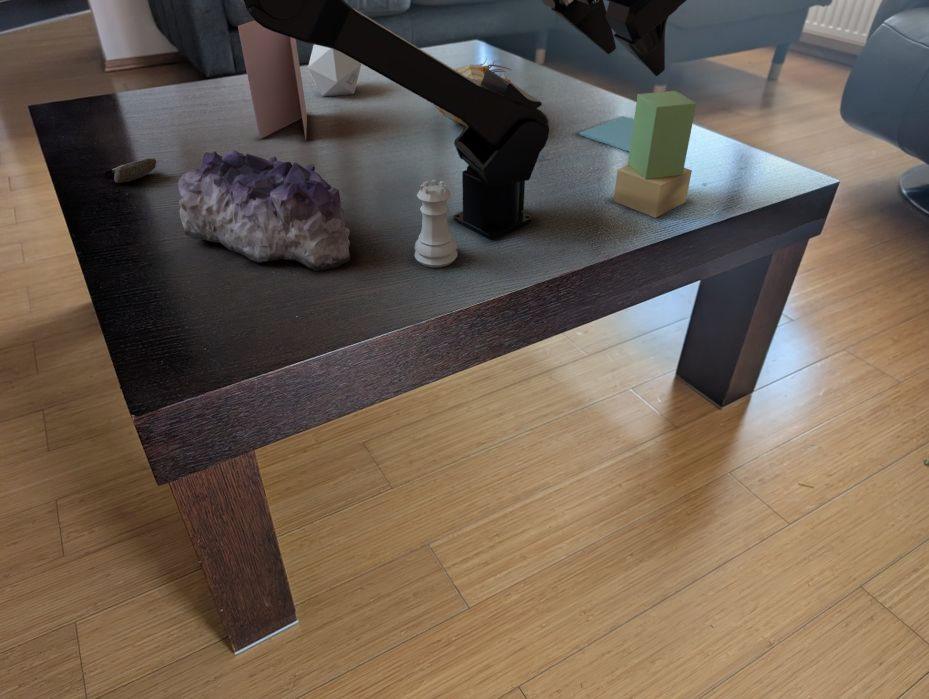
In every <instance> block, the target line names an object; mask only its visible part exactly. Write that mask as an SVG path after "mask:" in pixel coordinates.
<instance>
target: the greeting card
mask: <svg viewBox="0 0 929 699" xmlns="http://www.w3.org/2000/svg"><path fill="white" fill-rule="evenodd" d="M237 29H238V35H239V40H240V44H241V50H242V55H243V62H244V65H245V70H246V75H247V81H248V86H249V90H250V96H251V101H252V102H251V103H252V106H253V111H254V117H255V122H256V127H257V133H258V137H259V140H262V139H263V138H265V137H267V136H269V135H271V134H273V133H274V132H277V131H278V130H281V129H282V128H284V127H286V126H288V125H291V124H292V123H294V122H296V121H298V120H300V119H302V126H303V131H304V132H303V133H304V138H305V140H307V127H308V126H307V125H308V122H307V121H308V113H307V106H306V100H305V94H304V93H305V92H304V86H303V85H304V84H303V79H302V73H301V66H300V65H301V64H300V59H299V52H298V46H297V39H294V38H291V37H288V36H285V35H282V34H280V33H277V32H274V31H271V30H269V29H266V28H264V27H263V26H261V25H260V24H259V23H257V22H256V21H255V20H252V21H249V22H246V23H243V24H240V25H237Z"/></svg>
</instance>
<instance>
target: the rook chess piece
mask: <svg viewBox="0 0 929 699" xmlns="http://www.w3.org/2000/svg"><path fill="white" fill-rule="evenodd" d="M437 182H438V181H437V179H431V184H429V181H427V180H425V181H423V182H422V183H421V184H420V186H419V187H420V188H419V191H418V192H417V193H416V197H417V198H418V199H419V201H420V202H421V206H420V208H419V211H420V213H421V215H422V222H421V230H420V233H419V234H418V239H416V240H415V244H414V258H415V260H416V261H417V262H418V263H419V264H421V265H422V266H424V267H428V268H433V269H434V268H438V269H439V268H443V267H447V266H450V265H451V264H452V263H453V262H454V261H455V260H456V258H458V251H457V246H458V245H457V241H456V240H455V238H454V237H453V234H452V233H451V231H450V228H449V222H448V217H447V216H448V214H447V213H448V212H449V208H450V207H449V206H448V205H447V201H448V200H449V199H450V198H451V192H450V190H448V188H447V183H446V182H445V181H443V180H440V181H439V182H438V183H439V184H437Z"/></svg>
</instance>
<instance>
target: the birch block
mask: <svg viewBox="0 0 929 699" xmlns="http://www.w3.org/2000/svg"><path fill="white" fill-rule="evenodd" d="M692 172H693V171H692V169H689V168H687V167H684V170H683V175H678V176H669V177H661V178H652V179H644V178H643V177H642V176H641V175H640V174H639V173H638V172H636V171H635V170H634V169H633V168H632V167H631V166H630V165H629V164H627V165H625V166H622V167H619V168H617V171H616V178H615V186H614V193H613V200H612V201H613V202H614V203H616V204H620V205H622V206H624V207H626V208H629V209H632V210H634V211H636V212H639V213H642V214H645V215H647V216H650V217H652V218H654V219H656V218H658V217H660V216H662V215H664V214H666V213H668V212H670V211H672V210H673V209H675V208H677V207H680V206H681V205H683V204H686V202H687V197H688V191H689V186H690V183H691V177H692Z"/></svg>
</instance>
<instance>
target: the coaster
mask: <svg viewBox="0 0 929 699" xmlns="http://www.w3.org/2000/svg"><path fill="white" fill-rule="evenodd" d="M633 124H634V118H630V117H627V116H619V117H618V118H615V119H612V120H610V121H606V122H605V123H601V124H599V125H596V126H593V127H591V128H587V129H585V130H582V131H580V132H579V136H581V137H584V138H587V139H590V140H593V141H596V142H598V143H602V144H605V145H608V146H611V147H614V148H616V149H620V150H623V151H625V152H629V153H630V145H631V138H632V131H633Z"/></svg>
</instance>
